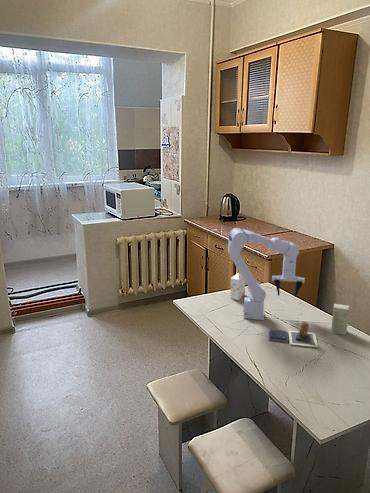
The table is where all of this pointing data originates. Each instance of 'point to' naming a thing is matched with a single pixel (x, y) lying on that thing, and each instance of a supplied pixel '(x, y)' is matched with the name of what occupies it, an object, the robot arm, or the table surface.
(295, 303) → the table surface
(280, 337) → the ink pad
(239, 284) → the ink cartridge box
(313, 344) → the marked square
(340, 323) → the skincare box
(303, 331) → the stamp
